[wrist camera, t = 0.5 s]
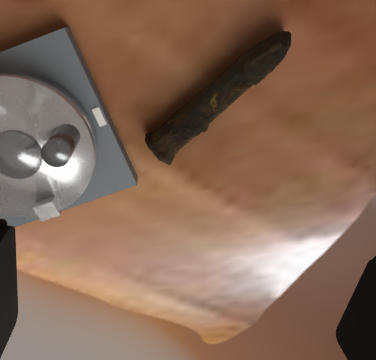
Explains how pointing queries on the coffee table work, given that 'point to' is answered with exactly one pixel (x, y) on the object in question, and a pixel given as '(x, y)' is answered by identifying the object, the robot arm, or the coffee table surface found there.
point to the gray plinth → (87, 96)
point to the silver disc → (42, 147)
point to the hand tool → (218, 97)
